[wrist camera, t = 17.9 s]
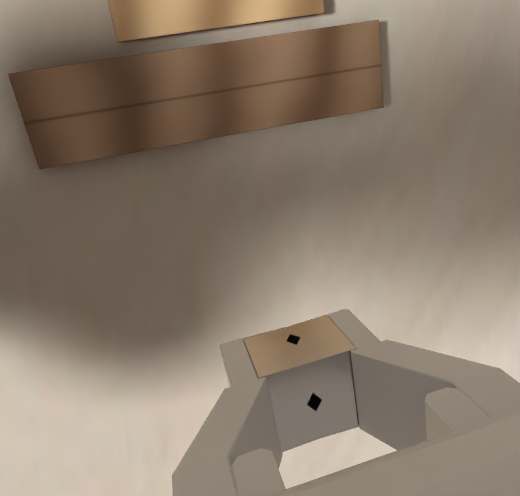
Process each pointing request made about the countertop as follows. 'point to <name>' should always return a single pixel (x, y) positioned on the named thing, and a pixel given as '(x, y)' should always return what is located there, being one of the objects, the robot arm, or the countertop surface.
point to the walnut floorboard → (198, 92)
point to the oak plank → (199, 15)
